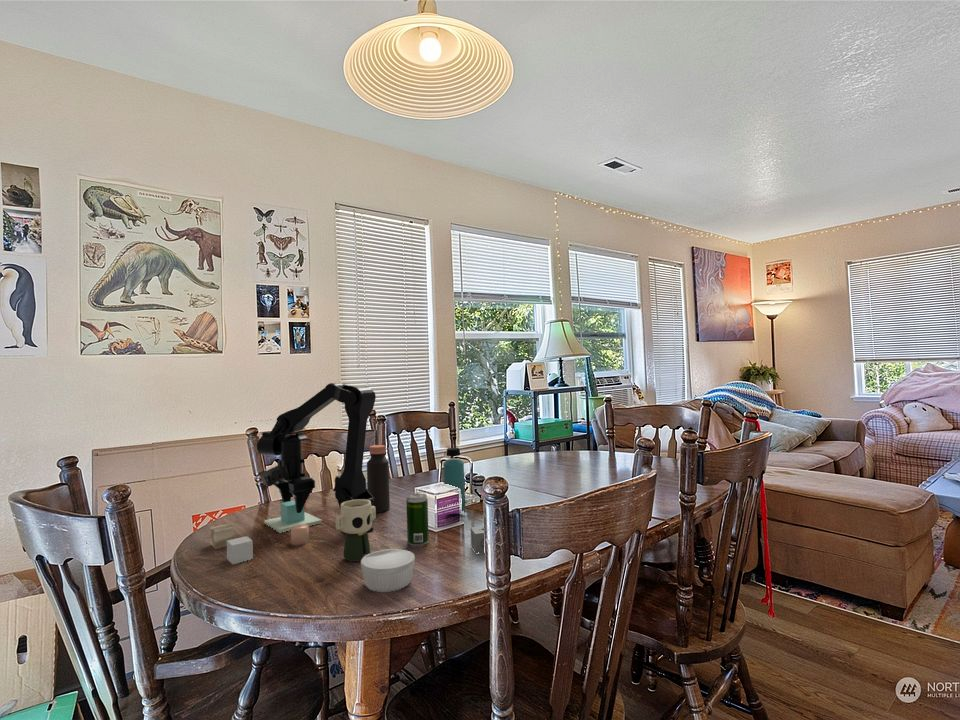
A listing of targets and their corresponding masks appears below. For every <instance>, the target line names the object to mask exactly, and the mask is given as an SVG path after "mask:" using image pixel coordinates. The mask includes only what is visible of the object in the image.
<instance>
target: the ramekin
mask: <svg viewBox="0 0 960 720" xmlns="http://www.w3.org/2000/svg"><path fill="white" fill-rule="evenodd" d="M415 562H416V556H415V554H414V553H413V552H412V551H410V550H409V551H408V550H406V549H397V548H396V549H395V548H391V549H381V550H377V551H373V552H370V554H368V555H366V554H365V555H364V556H363V558H362V560H360V568H361V569H362V576H363V582H364V584H365V587H366V588H367V589H369V590H370V591H372V590H373V591H372V592H375V591H377V592H378V593H392V592H391V591H393V592H396V591H395V590H397V591H400V590H402V589H401V588H403V589H404V588H406V587H407V586H409V584H410V583H411V582H412V580H413V574H414V564H415ZM405 586H406V587H405ZM399 589H400V590H399ZM377 592H376V593H377Z"/></svg>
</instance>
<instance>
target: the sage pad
mask: <svg viewBox="0 0 960 720" xmlns="http://www.w3.org/2000/svg"><path fill="white" fill-rule="evenodd" d="M304 513H305V520H303V521H298V522H294V523H290V524H287V523H285V522H283V521H281V516H278V517H274V518H269V519H265V520H263V521H264V523H265V524H267V525H268V526H267V525H266V526H267V527H269V526H270V527H271V528H270V527H269V528H270V529H272V528H273V529H272V530H274V531H275V530H276V531H275V532H277V533H278V534H282V532H283V533H287V532H286V531H288V532H291V531H290V530H291V527H292V526H295V525H300V524H306V525H308V526H309V527H311V526H312V525H313V526H315V525H316V524H317V525H320V524H322V521H323V520H322V519H320V518H319V517H316V516H314V515H312V514H310V513H308V512H306V511H304ZM264 523H263V524H264ZM265 524H264V525H265ZM317 525H316V526H317Z"/></svg>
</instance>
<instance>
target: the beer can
mask: <svg viewBox="0 0 960 720" xmlns="http://www.w3.org/2000/svg"><path fill="white" fill-rule="evenodd" d="M406 497H407V498H406V500H405V501H406V502H405V503H406V538H407V543H408V545H409V546H410V545H411V546H410V547H422V546H421V545H423V546H426V545H427V544H428V543H429V505H428V504H429V503H428V502H429V501H428V500H429V499H428V496H427V494H426V493H422V492H421V493H420V492H419V493H417V492H416V493H411V494H408V495H407V496H406ZM425 544H426V545H425Z"/></svg>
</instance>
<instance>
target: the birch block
mask: <svg viewBox="0 0 960 720" xmlns="http://www.w3.org/2000/svg"><path fill="white" fill-rule="evenodd" d="M232 539H235V527H234V526H233V525H231V524H230V523H227V524H223V525H222V524H221V525H218V526H213V527H210V546H211V545H212V546H213V547H212V546H211V547H212V548H213V549H214V550H218V549H223V548H227V547H226V546H227V541H228V540H232ZM222 547H223V548H222Z"/></svg>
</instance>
